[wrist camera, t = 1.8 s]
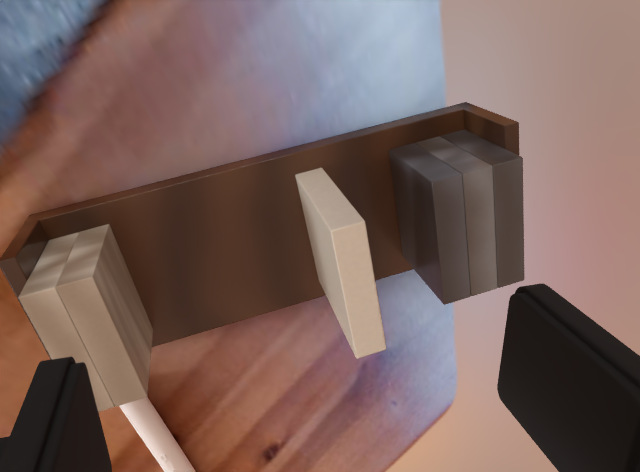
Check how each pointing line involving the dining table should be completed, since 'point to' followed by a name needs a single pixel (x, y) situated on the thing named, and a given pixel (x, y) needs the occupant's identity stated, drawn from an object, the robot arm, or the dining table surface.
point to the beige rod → (156, 436)
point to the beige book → (342, 260)
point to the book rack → (266, 239)
